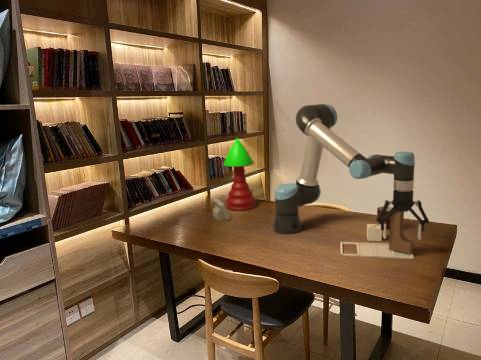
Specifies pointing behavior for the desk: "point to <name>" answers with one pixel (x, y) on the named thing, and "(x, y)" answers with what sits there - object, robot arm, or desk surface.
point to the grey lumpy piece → (220, 210)
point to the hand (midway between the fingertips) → (401, 238)
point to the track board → (376, 251)
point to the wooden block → (399, 234)
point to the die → (374, 232)
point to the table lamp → (239, 178)
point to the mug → (384, 215)
